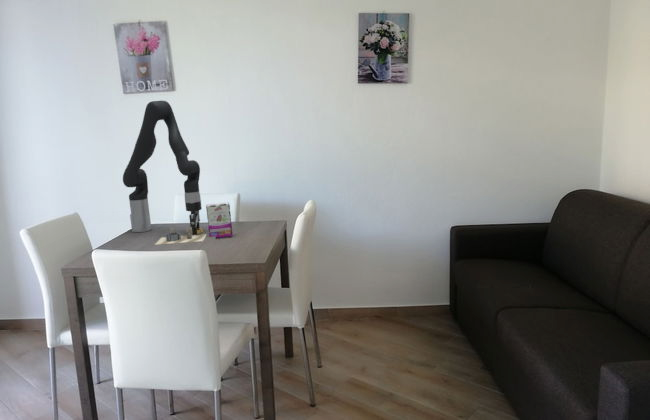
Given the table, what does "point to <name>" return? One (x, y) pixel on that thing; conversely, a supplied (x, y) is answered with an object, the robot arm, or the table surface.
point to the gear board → (182, 237)
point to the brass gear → (198, 230)
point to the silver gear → (173, 237)
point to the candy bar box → (219, 220)
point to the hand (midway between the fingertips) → (196, 232)
